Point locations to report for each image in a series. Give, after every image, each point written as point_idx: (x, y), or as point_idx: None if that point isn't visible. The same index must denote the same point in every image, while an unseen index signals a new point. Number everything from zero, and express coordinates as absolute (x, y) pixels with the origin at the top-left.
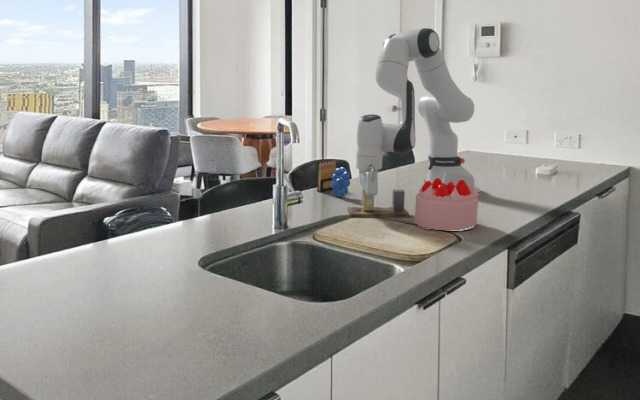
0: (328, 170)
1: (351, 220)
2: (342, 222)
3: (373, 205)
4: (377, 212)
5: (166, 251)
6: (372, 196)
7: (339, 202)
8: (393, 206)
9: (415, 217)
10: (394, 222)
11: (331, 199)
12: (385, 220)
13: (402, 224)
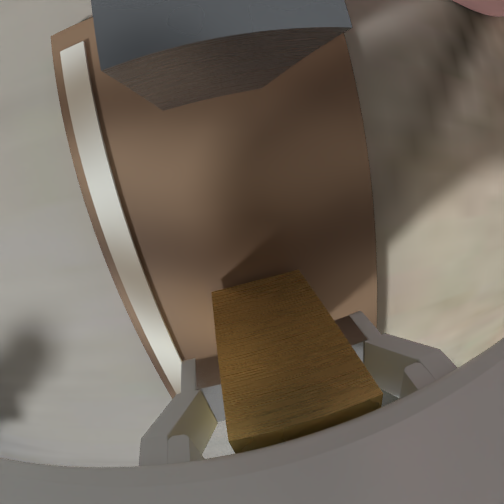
0: None
1: (426, 338)
2: (447, 356)
3: (313, 292)
4: (323, 230)
5: None
6: (424, 348)
7: (52, 439)
8: (241, 86)
9: (496, 7)
10: (464, 110)
11: (28, 454)
12: (436, 161)
13: (485, 76)
